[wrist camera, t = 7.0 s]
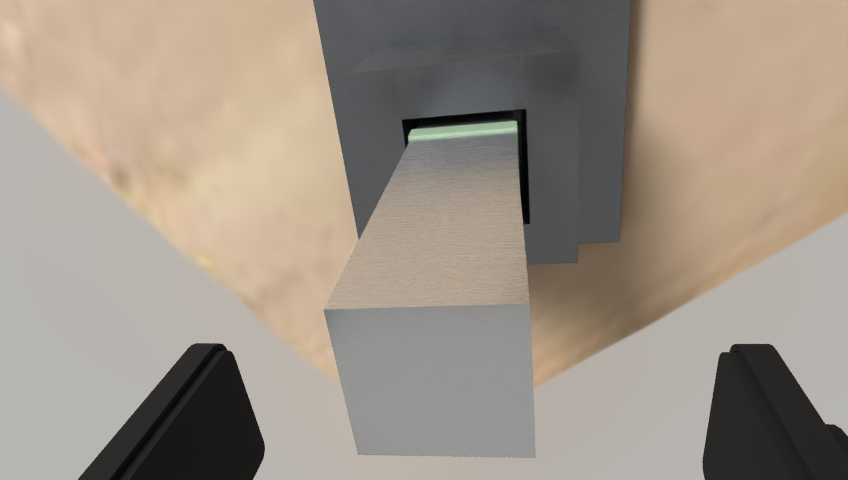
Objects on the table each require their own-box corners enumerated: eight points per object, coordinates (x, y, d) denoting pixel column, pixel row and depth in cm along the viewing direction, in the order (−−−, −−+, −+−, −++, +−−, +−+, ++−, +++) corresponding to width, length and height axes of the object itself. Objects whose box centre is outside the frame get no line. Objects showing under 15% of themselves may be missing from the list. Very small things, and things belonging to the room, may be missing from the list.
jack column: (514, 102, 24) (535, 298, 10) (518, 190, 26) (540, 460, 12) (422, 110, 25) (317, 305, 11) (431, 195, 27) (354, 457, 12)
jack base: (627, -60, 27) (690, -73, 18) (614, 230, 34) (655, 325, 25) (318, -19, 29) (239, -12, 20) (366, 243, 36) (323, 332, 27)
